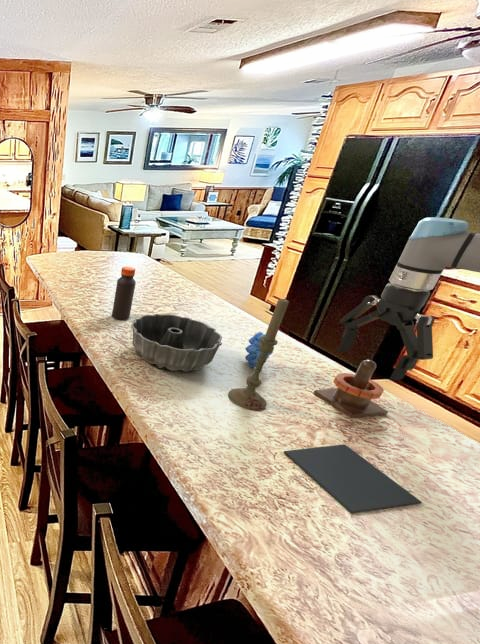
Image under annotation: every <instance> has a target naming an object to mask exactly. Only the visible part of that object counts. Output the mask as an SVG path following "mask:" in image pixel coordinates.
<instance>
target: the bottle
mask: <svg viewBox="0 0 480 644" xmlns="http://www.w3.org/2000/svg"><path fill="white" fill-rule="evenodd" d="M120 275H121V276H120V277H118V279H117V280H116V286H115V287H116V288H115V293H114V300H113V304H112V312H111V317H112V318H113V319H115V320H118V321H127V320H129V319H130V316H131V311H132V307H133V306H132V305H133V300H134V295H135V288H136V280H135V279H134V277H135V275H136V268H135V267H132V266H121V271H120Z"/></svg>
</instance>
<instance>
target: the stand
mask: <svg viewBox="0 0 480 644" xmlns="http://www.w3.org/2000/svg"><path fill="white" fill-rule="evenodd" d="M376 368H377V363H376V362H375V361H373V360H372V359H365V360H362V361H361V362H360V364H359V366H358V368H357V370H356V372H355V374H354V375H355V376H354V378H353V380H352V382H351V381H345V382H346V383H348V384H350V385H351V386H354V387H356V388H359V389H363V390H371V389H369V388H368V387H366V386H367V384H368V382H369V380H371V378H372V376H373V375H374V373H375V370H376ZM313 394H314V395H316V396H317V397H319V398H320V399H322V400H323V401H325V402H326V403H328V404H329V405H330V406H332V407H334V408H335V409H337V410H338V411H340V412H341V413H343V414H344V415H346V417H349V418H350V419H355V418H364V417H365V418H366V417H376V416H384V415H388V414H389V411H388V410H387V409H385V408H384V407H382V406H380V405H379V404H377V403H375V402H374V401H373V400H372V399H367V398H362V397H359V396H355V395H352V394H349V393H347V392H345V391H343V390H342V389H340V388H338V386H336V388H334V387H333V388H324V389H315V390H314V391H313Z"/></svg>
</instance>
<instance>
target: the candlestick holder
mask: <svg viewBox="0 0 480 644" xmlns="http://www.w3.org/2000/svg"><path fill="white" fill-rule="evenodd" d="M289 303H290V301H289V300H288V299H286V297H284V298H278V299H277V302H276V305H275V308H274V310H273V313H272V316H271V319H270V321H269V324H268V327H267V329H266V332H265V334H266V335H265V336H264V337H261V338H260V341H261V344H259V346H258V347H259V349H260V350H261V353H260V354H259V357H258V358H257V363H256V366H255V368H253V373H252V374H251V375H249V376H247V377H246V378H245V384H246V387H240V388H238V387H237V388H231V389H230V390H229V391H228V393H227V396H228V399H229V400H230V401H232V402H233V403H234V404H235V405H237V406H239V407H241V408H244V409H246V410H252V411H262V410H264V409H265V408H266V407H267V405H268V403H267V400H266V399H265V398H264V397H263V396H262V395H261V394H260V393H258V392H257V391H256V389H257V388H259V387H260V386H261V385H262V382H263V381H262V380H261V378H260V374H261V372H262V371H263V370H262V369H263V368H264V365H265V364H264V363H266V362H267V360H268V359H267V353H270V352H272V351H273V352H274V351H275V347H274V346H277V345H278V343H279V341H278V340H277V339H276V337H277V334H278V332H279V329H280V326H281V325H282V321H283V319H284V316H285V314H286V311H287V309H288V305H289Z"/></svg>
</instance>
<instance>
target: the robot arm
mask: <svg viewBox="0 0 480 644" xmlns="http://www.w3.org/2000/svg"><path fill="white" fill-rule="evenodd" d="M468 227H469V223H468V222H467V221H466V220H461V219H455V218H448V217H435V216H434V217H433V216H432V217H431V216H430V217H424V218H423V219H421V220H419V221H418V223H417V225H416V226H415V227H414V230H413V232H412V234H411V235H410V236H409V237H408V240H407V242H406V243H405V246H404V249H403V251H402V253H401V255H400V257H399V259H398V261H397V263H396V265H395V267H394V269H393V271H392V272H391V275H390V277H389V279H388V281H389V282H388V283H387V284H386V285H385V287H384V288H383V290H382V293H381V295H380V298H379V296H378V295H366V296H365V297H364V298H363V300H362V301H361V303H360V304H358V305H357V306H356V307H355V308H353V309H352V310H350V311H349V312H348V313H347V314H346V315H345V316H343V317H342V318H341V319H339V323H340V324H343V325H344V330H343V332H342V335H341V339H342V340H341V342H340V345H339V346H338V348H337V351H338V352H340V353H346V352H347V353H348V352H350V350H351V348H352V346H353V344H354V341H355V340H356V338H357V336H358V334H359V332H360V330H359V329H358V328H360V327H362V326H365V325H366V324H369V323H371V322H374V321H377V320H379V319H380V321H382V322H387V323H388V324H389V325H392V326H396V329H397V330H398V331H399V333H400V336H401V339H402V343H403V345H404V349H405V351H406V354H403V355H402V356H401V358H400V360H399V362H398V363H397V364H396V367H395V368H394V370H393V372H392V373H391V374H390V377H389V379H390V380H391V381H399V380H403V379H404V377H405V376H406V374H407V373H408V371H412V370H414V369H415V367H416V365H417V363H418V362H419V360H420V361H422V360H423V361H424V360H432V359H433V358H434V344H433V326H434V323H435V320H436V317H435V316H433V315H425V314H420V311H421V309H422V308H423V307H424V306H425V304H426V302H427V301H428V299H429V297H430V295H431V290H433V289H434V288H435V286H436V284H437V283H438V280H439V279H440V277H441V275H442V273H443V272H444V270H445V268H446V267H447V268H453V269H460V270H463V271H470V272H473V273H474V272H475V273H480V233H476V232H472V231H468ZM374 306H375V307H376V310H374V311H372V312H370V313H369V314H366V315H364V316H362V315H363V314H364V313H366V312H367V311H368V310H370V309H372V308H373V307H374ZM359 317H360V318H359ZM414 321H415V322H414ZM415 324H416V325H415ZM415 328H416V331H415Z"/></svg>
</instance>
